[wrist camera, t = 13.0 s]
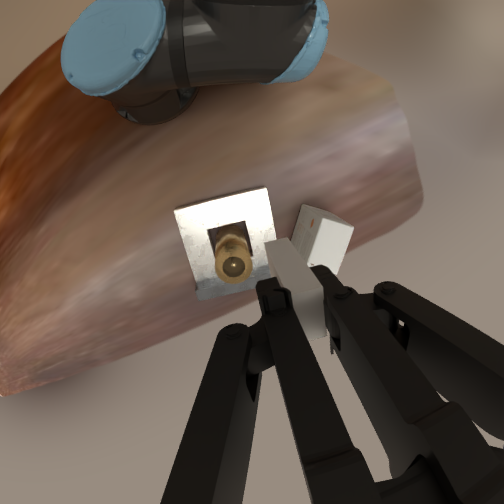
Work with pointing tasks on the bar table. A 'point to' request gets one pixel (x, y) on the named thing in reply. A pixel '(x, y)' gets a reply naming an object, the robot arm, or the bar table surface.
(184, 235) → the plate
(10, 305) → the bar table surface
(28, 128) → the bar table surface
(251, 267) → the bushing
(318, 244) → the small box
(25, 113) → the bar table surface
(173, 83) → the robot arm
